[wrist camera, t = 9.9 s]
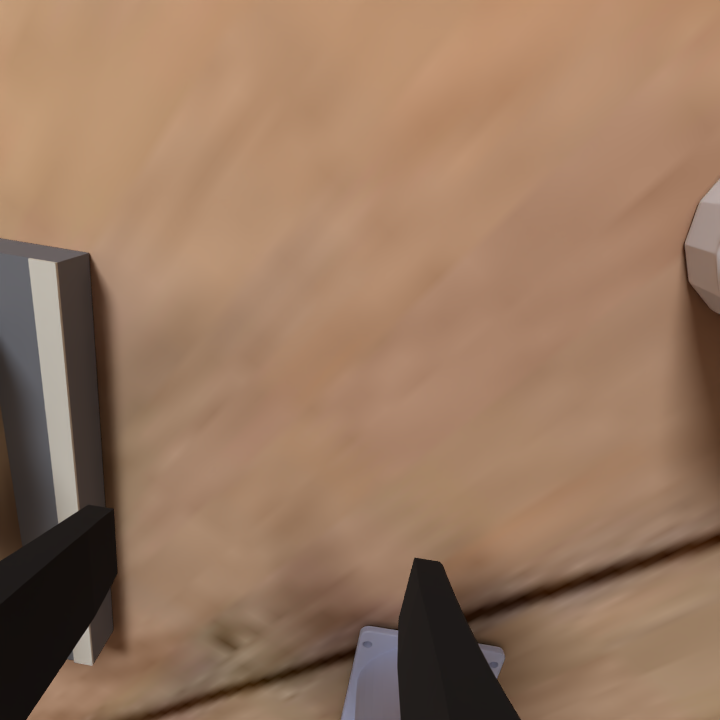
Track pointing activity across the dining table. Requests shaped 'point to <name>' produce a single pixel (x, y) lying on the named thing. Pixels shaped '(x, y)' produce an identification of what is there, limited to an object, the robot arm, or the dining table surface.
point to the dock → (51, 398)
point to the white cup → (705, 249)
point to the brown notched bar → (7, 503)
